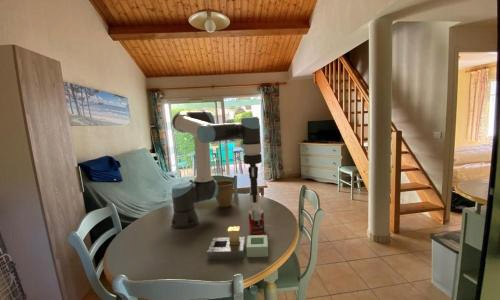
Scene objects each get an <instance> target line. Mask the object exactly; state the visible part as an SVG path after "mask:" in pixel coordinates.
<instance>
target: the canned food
mask: <svg viewBox="0 0 500 300" xmlns="http://www.w3.org/2000/svg"><path fill="white" fill-rule="evenodd" d="M264 213H265V212H264V210H263V209H262V208H260V214H261V219H260V220H258V221H253V220H252V218H251V209H249V210H248V224H249V232H250V234H251V235H263V233H264V232H265V216H264V215H265V214H264Z"/></svg>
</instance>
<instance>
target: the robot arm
mask: <svg viewBox="0 0 500 300" xmlns="http://www.w3.org/2000/svg"><path fill="white" fill-rule="evenodd" d="M240 121H241V122H227V123H224V122H223V123H222V122H221V123H216V121H215V117H214V115H213V113H212V112H211V111H209V110H202V109H201V110H183V111H178V112H177V113H176V114H175V115H173V117H172V127H173V128H174V129H175V131H177V132H179V133H182V134H183V133H188V134H190V135H191V136H192V137H193V140H194V141H193V142H194V156H195V157H194V159H195V170H196V172H195V173H196V174H195V175H196V177H195V178H194V181H193V182H191V181H185V182H184V181H183V182H181V183H177V184H175V185H174V186H173V187H172V188H171V198H172V208H173V215H172V219H171V227H172V228H173V229H175V230H186V229H190V228H192V227H195V226H196V225H197V224H199V221H200V220H199V216H198V214H197V211H196V209H195V204H199V203H201V202H205V201H211V200H213V199H216V196H217V194H218V185H217V182H218V181H217V180H216V179H214V177H213V176H212V170H211V149H210V144H211V143H215V142H216V143H217V142H224V141H233V140H234V141H235V140H242V146H241V149H242V151H243V153H242V154H243V163H244V164H245V165H249V166H248V176H249V177H248V178H249V180H250V187H251V194H250V193H249V196H250V195H251V198H252V210H259V207H258V193H257V186H258V177H259V173H258V171H259V166H257V165H258V164H261V163H262V161H263V160H262V154H261V153H262V142H261V125H260V117H258V116H246V117H242V118H241V120H240Z"/></svg>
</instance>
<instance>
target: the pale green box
mask: <svg viewBox="0 0 500 300" xmlns="http://www.w3.org/2000/svg"><path fill="white" fill-rule="evenodd" d="M246 238H247V239H246V246H245V249H246V257H247V258H260V257H261V258H265V257H266V258H267V257H269V247H268V246H269V245H268V244H269V243H268V242H269V241H268V235H267V234H260V235H254V234H251V235H247V237H246Z"/></svg>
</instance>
